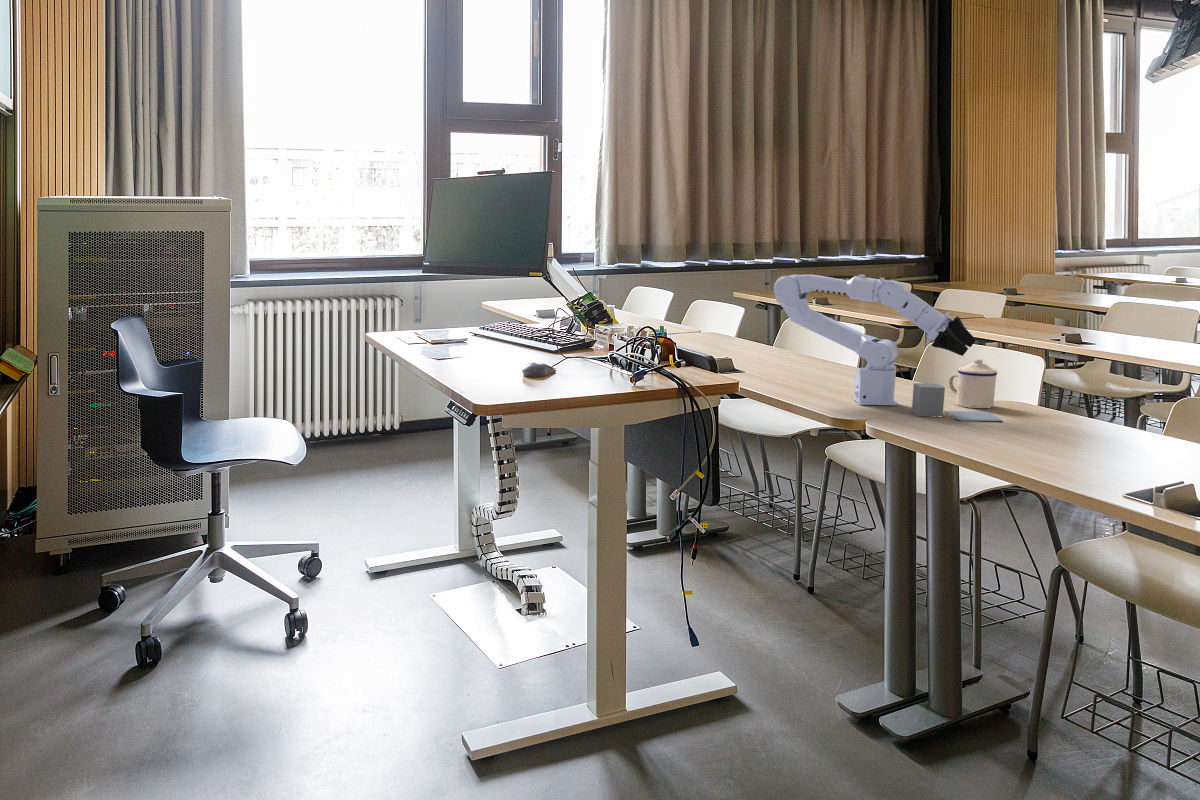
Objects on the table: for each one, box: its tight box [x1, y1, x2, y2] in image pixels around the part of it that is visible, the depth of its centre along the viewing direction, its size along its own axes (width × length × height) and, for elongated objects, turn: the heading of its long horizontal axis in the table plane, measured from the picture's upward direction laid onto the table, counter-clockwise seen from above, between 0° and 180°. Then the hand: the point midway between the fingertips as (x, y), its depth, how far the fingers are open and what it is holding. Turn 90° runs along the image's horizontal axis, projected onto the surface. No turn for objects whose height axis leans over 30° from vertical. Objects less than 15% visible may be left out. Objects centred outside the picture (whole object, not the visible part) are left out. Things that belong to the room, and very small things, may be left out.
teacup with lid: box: [948, 358, 998, 409], centre depth 234 cm, size 12×9×12 cm
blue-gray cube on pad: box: [911, 382, 946, 417], centre depth 221 cm, size 6×6×7 cm
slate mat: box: [944, 410, 1004, 423], centre depth 219 cm, size 10×10×1 cm
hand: (969, 348), depth 224 cm, fingers open, 7 cm apart
